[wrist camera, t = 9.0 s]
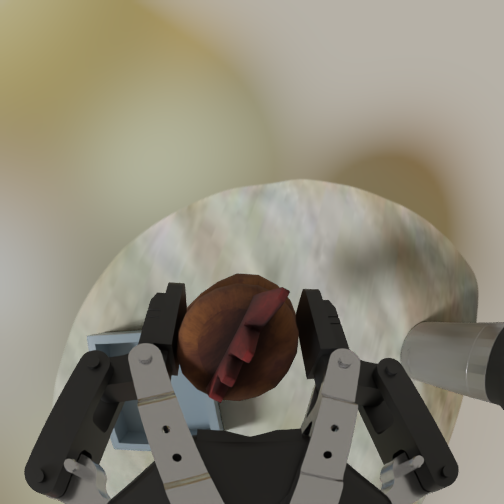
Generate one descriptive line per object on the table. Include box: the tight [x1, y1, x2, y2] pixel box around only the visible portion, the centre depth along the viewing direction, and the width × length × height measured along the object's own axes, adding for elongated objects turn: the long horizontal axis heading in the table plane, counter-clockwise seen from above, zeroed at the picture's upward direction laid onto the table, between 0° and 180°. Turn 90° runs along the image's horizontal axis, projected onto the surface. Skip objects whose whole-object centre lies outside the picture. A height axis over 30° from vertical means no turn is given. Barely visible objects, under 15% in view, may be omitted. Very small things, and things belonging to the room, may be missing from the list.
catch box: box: [87, 330, 224, 451], centre depth 30 cm, size 14×15×5 cm
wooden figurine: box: [176, 274, 299, 403], centre depth 13 cm, size 7×6×15 cm
